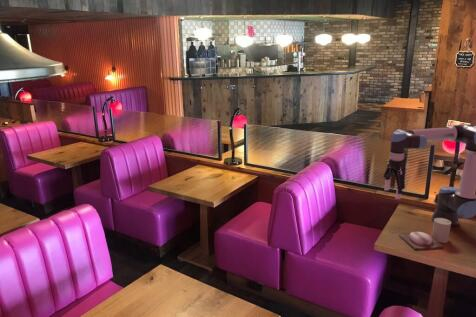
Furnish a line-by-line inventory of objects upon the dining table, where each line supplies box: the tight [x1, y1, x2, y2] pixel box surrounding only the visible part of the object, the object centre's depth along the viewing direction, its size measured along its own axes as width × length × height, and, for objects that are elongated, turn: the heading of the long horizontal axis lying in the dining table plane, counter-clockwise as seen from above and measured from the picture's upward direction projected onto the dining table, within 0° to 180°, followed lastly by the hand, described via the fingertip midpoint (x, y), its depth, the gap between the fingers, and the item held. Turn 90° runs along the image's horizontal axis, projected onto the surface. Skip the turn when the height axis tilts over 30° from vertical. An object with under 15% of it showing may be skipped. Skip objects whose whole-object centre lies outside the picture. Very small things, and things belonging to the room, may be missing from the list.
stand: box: [398, 231, 444, 251], centre depth 230 cm, size 17×17×4 cm
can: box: [431, 218, 452, 244], centre depth 232 cm, size 9×9×12 cm
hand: (392, 194), depth 230 cm, fingers open, 13 cm apart
